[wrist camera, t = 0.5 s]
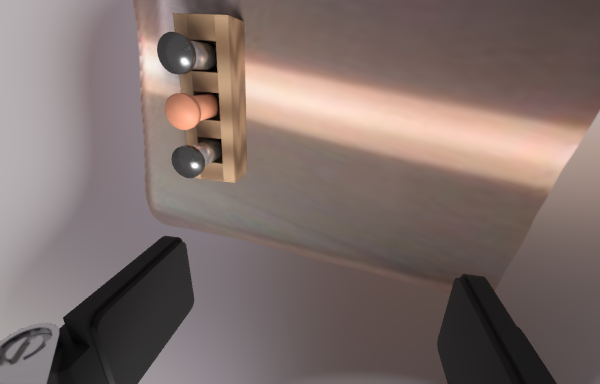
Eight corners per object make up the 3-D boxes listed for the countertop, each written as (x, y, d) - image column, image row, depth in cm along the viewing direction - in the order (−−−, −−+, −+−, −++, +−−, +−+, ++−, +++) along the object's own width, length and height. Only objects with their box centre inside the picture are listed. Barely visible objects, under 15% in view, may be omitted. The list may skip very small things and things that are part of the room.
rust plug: (194, 89, 38) (162, 92, 32) (222, 91, 37) (195, 95, 31) (197, 119, 39) (167, 128, 33) (224, 121, 39) (199, 131, 33)
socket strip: (194, 19, 38) (172, 13, 34) (243, 21, 37) (228, 15, 33) (206, 167, 47) (190, 177, 42) (247, 171, 46) (234, 182, 41)
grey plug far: (198, 133, 40) (169, 144, 34) (225, 136, 40) (200, 148, 34) (201, 160, 42) (173, 176, 36) (226, 163, 41) (203, 179, 35)
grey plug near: (190, 38, 35) (154, 31, 29) (220, 39, 35) (190, 32, 29) (193, 72, 37) (160, 73, 31) (221, 74, 36) (194, 75, 30)
